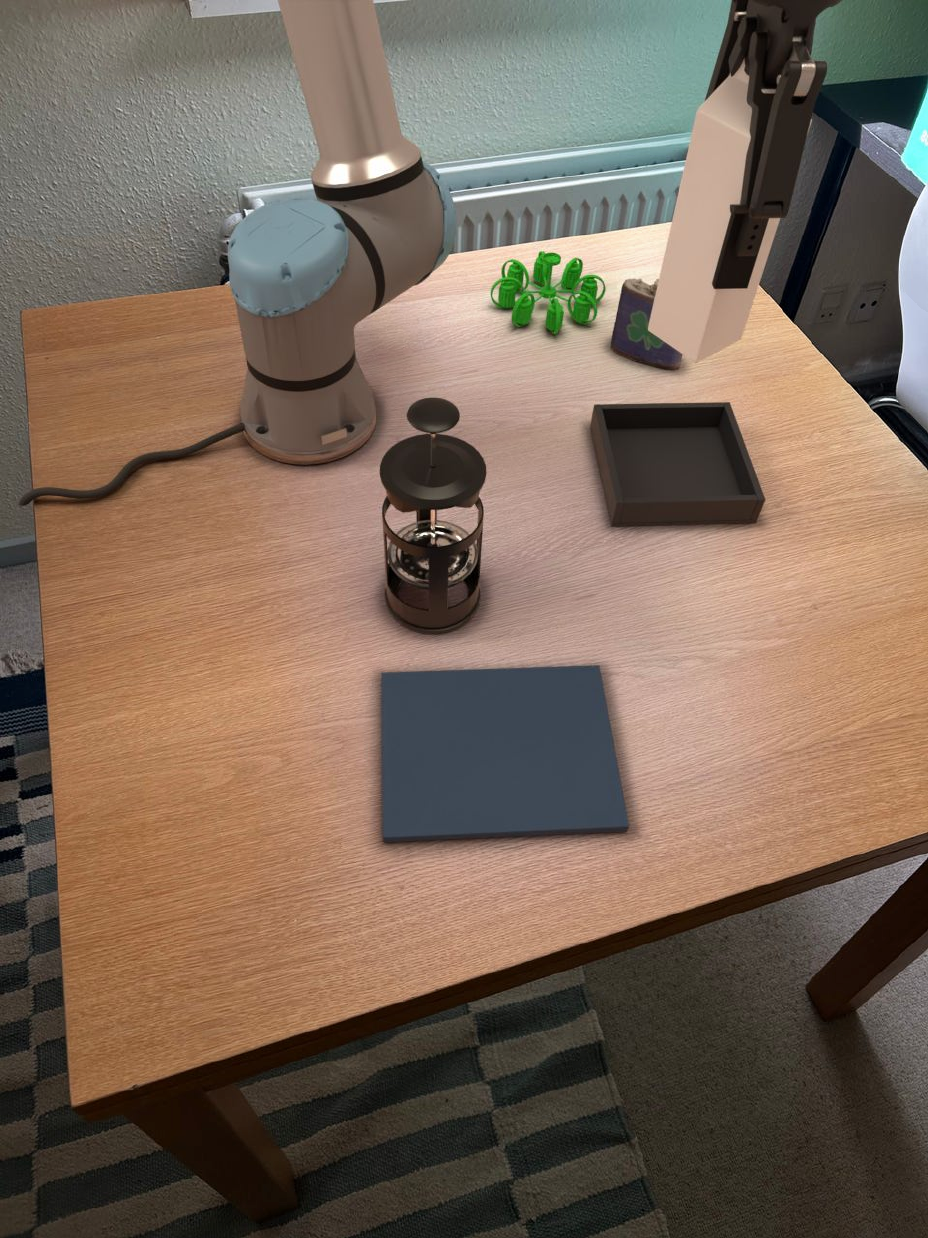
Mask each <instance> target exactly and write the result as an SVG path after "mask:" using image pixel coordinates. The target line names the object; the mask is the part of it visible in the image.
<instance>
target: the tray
mask: <svg viewBox="0 0 928 1238" xmlns="http://www.w3.org/2000/svg"><path fill="white" fill-rule="evenodd" d="M590 419H591V420H590V425H589V429H590V435H591V440H592V444H593V448H594V454H595V457H596V462H597V467H598V471H599V476H600V481H601V486H602V488H603V490H602V491H603V495H604V499H605V505H606V508H607V513H608V517H609V522H610V527H644V526H645V527H647V526H648V527H649V526H651V527H652V526H684V525H691V526H692V525H725V524H729V525H731V524H756V523H757V522H758V520H759V516H760V514H761V512H762V510H763V507H764V505H765V502H766V498H765V495H764V492H763V489H762V485H761V483H760V480H759V478H758V476H757V473H756V470H755V467H754V465H753V462H752V459H751V455H750V454H749V451H748V449H747V446H746V442H745V439H744V437H743V434H742V432H741V429H740V427H739V424H738V421H737V418H736V416H735V412H734V410H733V407H732V404H731V402H730V401H723V402H722V401H721V402H719V401H718V402H717V401H716V402H670V403H669V402H662V403H661V402H659V403H658V402H657V403H656V402H655V403H652V402H651V403H601V404H600V403H594V404H593V409H592V415H591V418H590Z"/></svg>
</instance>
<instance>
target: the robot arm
mask: <svg viewBox="0 0 928 1238" xmlns="http://www.w3.org/2000/svg"><path fill="white" fill-rule="evenodd" d="M842 1H843V0H731V3H730V7H729V14H728V17H727V18H728V19H727V22H726V27H725V30H724V33H723V38H722V41H721V44H720V48H719V51H718V55H717V57H716V61H715V65H714V67H713V71H712V75H711V78H710V82H709V85H708V88H707V91H706V94H705V98H704V101H703V103H704V102H705V101H706V100H707V99H708V97H709V96H710V95H711V94H712V93H713V92H714V91H715V90H716V89H717V88H718V87H719V86H720V85H721V84H722V83H723V82H724V81H725V80H726V78H727V77H728V76H729V75H730V74H731V77H732V76H734V74H735V73H736V72H737V71H738V69H739V68H740V67H741V64H742V62H743V60H744V57H745V68H744V71H745V73H746V74H747V75H748V76H749V83H748V91H747V103H748V105H749V106H751V108H752V115H751V122H750V130H749V131H750V136H751V139H750V143H749V147H748V150H747V154H746V161H745V169H744V177H743V185H742V193H741V200H740V204H730V212H731V216H730V220H729V223H728V227H727V231H726V234H725V238H724V241H723V245H722V249H721V252H720V256H719V259H718V263H717V267H716V270H715V274H714V278H713V281H712V285H713V288H714V289H747V288H748V285H749V282H750V278H751V275H752V272H753V269H754V266H755V262H756V259H757V256H758V253H759V250H760V246H761V243H762V240H763V237H764V234H765V230H766V227H767V224H768V221H769V218H780V219H785V218H787V216H788V214H789V210H790V207H791V202H792V198H793V194H794V190H795V187H796V182H797V178H798V174H799V170H800V167H801V162H802V158H803V154H804V150H805V146H806V141H807V138H808V135H807V134H809V132H808V130H809V131H810V128H809V126H810V127H811V125H810V122H811V119H812V117H813V113H814V110H815V105H816V101H817V99H818V97H819V94H820V92H821V90H822V86H823V84H824V81H825V79H826V76H827V74H828V73H827V72H828V62H827V61H826V60H813V59H812V51H813V46H814V45H813V44H814V35H815V29H816V28H815V27H816V23H817V18H818V16H819V15H820V14H821V13H823V12H824V11H825V10H827V9H828V8H833V7H836V6H837V5H838V4H840V3H841V2H842ZM277 2H278V6H279V10H280V13H281V17H282V21H283V24H284V29H285V31H286V35H287V39H288V42H289V46H290V50H291V54H292V58H293V61H294V64H295V69H296V72H297V76H298V79H299V83H300V87H301V90H302V94H303V98H304V102H305V105H306V109H307V112H308V113H307V114H308V116H309V119H310V120H309V121H310V123H311V127H312V131H313V136H314V138H315V142H316V146H317V149H318V153H319V156H318V160H317V161H316V164H315V165H314V168H313V169H312V171H311V173H310V178H311V184H312V187H313V190H314V193H315V197H316V199H312V198H305V197H292V198H289V199H288V200H287V201H286V202H281V201H280V200H275V201H272V202H269V203H266V204H264V205H262V206H260V207H257V208H256V209H254V210H252V211H251V212H249V213H248V214H247V215H246V216H244V218H242V220H240V222H239V223H238V224H237V225H236V226H235V228H234V229H233V231H232V233H231V234H230V238H229V241H228V245H227V261H228V269H229V271H228V279H229V288H230V292H231V293H232V296H233V298H234V302H235V308H236V315H237V319H238V326H239V330H240V335H241V340H242V344H243V350H244V355H245V361H246V367H247V370H246V374H245V380H244V385H243V389H242V395H241V400H240V406H239V418H240V423H237V424H236V425H234V426H231V427H229V428H227V429H226V428H225V429H224V430H222V431H220V432H217V433H214V434H212V435H210V436H207V437H206V438H204V439H202V440H200V441H198V442H196V443H194V444H192V445H191V444H190V445H189V446H186V447H183V448H179V449H173V450H162V451H154V452H148V453H144V454H141V455H139V456H137V457H135V458H133V459H131V460H130V461H129V462H127V463H126V464H125V465H124V466H123V467H122V468H121V470H120V471H119V472H118V473H117V475H116V476H115V477H114V478H113V479H112V480H111V481H110V482H109V483H107V484H105V485H103V486H101V487H98V488H95V489H89V490H87V489H86V490H85V489H84V490H83V489H82V490H81V489H80V490H79V489H71V488H70V489H69V488H62V487H51V486H45V487H44V486H43V487H37V488H34V489H31V490H29V491H28V492H26V493H25V494H24V495H23V496H21V498H20V499H19V502H18V506H20V507H24V506H28V505H29V504H30V503H31V502H32V501H34V500H35V499H37V498H40V497H44V496H47V497H49V496H51V497H60V498H68V499H77V500H79V499H80V500H87V499H89V500H90V499H97V498H102V497H104V496H106V495H109V494H110V493H112V492H114V491H115V490H116V489H118V488H119V487H120V486H121V485H122V484H123V483H124V482H125V480H127V478H128V477H129V476H130V474H131V473H132V472H133V471H134V470H135V469H136V468H138V467H139V466H141V465H144V464H146V463H149V462H153V461H159V460H171V459H178V458H184V457H187V456H191V455H193V454H196V453H197V452H200V451H202V450H204V449H206V448H208V447H210V446H212V445H214V444H216V443H219V442H221V441H223V440H225V439H227V438H231V437H233V436H235V435H237V434H240V433H242V432H243V435H244V437H245V439H246V441H247V442H248V444H249V445H250V446H251V447H252V448H253V449H254V450H256V451H257V452H258V453H260V454H261V455H263V456H265V457H267V458H269V459H271V460H274V461H277V462H281V463H285V464H290V465H291V464H292V465H300V466H301V465H302V466H305V465H308V466H309V465H319V464H324V463H329V462H332V461H333V462H334V461H336V460H340V459H342V458H345V457H346V456H348V455H351V454H352V453H354V452H356V451H357V450H358V449H360V448H361V447H362V446H363V445H364V444H365V443H366V442H367V441H368V440H369V439H370V437H371V436H372V434H373V432H374V430H375V427H376V424H377V406H376V399H375V396H374V393H373V391H372V389H371V387H370V385H369V383H368V381H367V378H366V377H365V375H364V372H363V370H362V368H361V366H360V364H359V362H358V359H357V357H356V341H355V328H356V325H357V324H358V323H360V322H361V321H362V320H365V319H366V318H367V317H368V316H370V315H371V314H373V313H375V312H377V311H378V310H380V309H381V308H383V307H385V306H386V305H387V304H388V303H390V302H391V301H393V300H394V299H396V298H398V297H400V296H401V295H402V294H404V293H406V292H407V291H408V290H410V289H411V288H412V287H414V286H418V285H420V284H421V283H423V282H424V281H426V280H427V279H428V278H429V277H430V276H431V275H432V273H434V272H435V271H436V270H437V269H439V268H440V267H441V266H442V265H443V264H444V263H445V262H446V260H447V259H448V257H449V255H451V252H452V249H453V247H454V245H455V240H456V235H457V213H456V206H455V201H454V198H453V196H452V193H451V191H450V188H449V187H448V184H447V183H446V182H442V181H441V180H440V177H441V175H440V173H439V171H438V170H437V169H436V168H435V167H433V166H432V165H431V164H430V163H428V162H426V161H424V160H423V156H422V151H421V149H420V148H419V146H417V145H416V144H415V143H413V142H412V141H410V140H409V139H407V138H406V137H405V136H404V135H403V134H402V128H401V124H400V120H399V115H398V109H397V106H396V100H395V96H394V91H393V87H392V82H391V77H390V73H389V68H388V63H387V59H386V53H385V49H384V45H383V40H382V39H383V38H382V34H381V30H380V26H379V21H378V17H377V12H376V6H375V2H374V0H277ZM761 89H776V91H775V93H763V92H762V91H761ZM811 123H812V122H811Z"/></svg>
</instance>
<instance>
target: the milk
mask: <svg viewBox="0 0 928 1238" xmlns="http://www.w3.org/2000/svg"><path fill="white" fill-rule="evenodd" d="M744 68H745V57H744V60H743V62H742V64H741V67H740V68H739V69H738V71H737V72H736V73H735V74H734V76H732V77H731V74H730V75H729V76H728V77H727V78H726V80H725V81H724V82H723V83H722V84H721V85H720V86H719V87H718V88H717V89H716V90H715V91H714V92H713V93H712V94H711V95H710V96H709V97H708V99H707V100H706V101H705V100H704V101H705V102H704V101H703V102H702V104H701V105H700V106H699V107H698V108H697V110H696V114H695V117H694V123H693V127H692V131H691V136H690V139H689V145H688V149H687V153H686V158H685V163H684V166H683V170H682V171H683V172H682V175H681V180H680V185H679V190H678V193H677V198H676V202H675V207H674V210H673V211H674V212H673V216H672V218H671V219H672V220H671V223H670V228H669V233H668V237H667V241H666V246H665V250H664V256H663V259H662V264H661V269H660V273H659V276H658V277H659V278H658V279H659V281H658V286H657V290H656V295H655V299H654V303H653V308H652V312H651V317H650V321H649V326H648V331H650V332H651V333H653V334H654V335H655V336H657V337H658V338H660V339H661V340H663V341H664V342H666V343H667V344H668V345H670V346H671V347H673V348H674V349H676V350H677V351H679V352H680V353H681V354H683V356H684V357H685V358H687V359H688V360H690V361H691V362H693V363H694V364H698V363H700V362H701V361H704V360H705V359H707V358H709V357H711V356H713V355H715V354H717V353H719V352H720V351H722V350H724V349H726V348H728V347H731V345H734V344H735V343H737V342H739V341H741V340H742V338H743V335H744V332H745V330H746V329H745V328H746V326H747V324H748V323H747V322H748V320H749V317H750V313H751V310H752V308H753V304H754V301H755V299H756V295H757V292H758V289H759V286H760V282H761V280H762V276H763V274H764V270H765V267H766V264H767V261H768V258H769V256H770V252H771V249H772V246H773V242H774V240H775V237H776V233H777V231H778V227H779V225H780V221H781V218H769V221H768V224H767V227H766V230H765V234H764V237H763V240H762V243H761V246H760V250H759V253H758V256H757V259H756V262H755V266H754V269H753V272H752V275H751V278H750V282H749V285H748V288H747V289H714V288H713V285H712V281H713V278H714V274H715V270H716V267H717V263H718V259H719V256H720V252H721V249H722V245H723V241H724V238H725V234H726V231H727V227H728V223H729V220H730V216H731V212H730V204H740V200H741V193H742V185H743V177H744V169H745V161H746V154H747V150H748V147H749V143H750V139H751V136H750V131H749V130H750V122H751V115H752V108H751V106H749V105H748V103H747V91H748V83H749V76H748V75H747V74H746V73H745V71H744ZM761 91H762V92H763V93H775V91H776V89H761ZM812 122H813V119H812V118H811V122H810V126H809V130H808V134H809V132H810V128H811V126H812ZM808 134H807V136H808Z"/></svg>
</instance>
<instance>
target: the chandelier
mask: <svg viewBox="0 0 928 1238" xmlns="http://www.w3.org/2000/svg"><path fill="white" fill-rule="evenodd" d="M537 255H538V256H537V257H536V258H535V261H534V264H533V274H532V278H533V280H534V281H535V282H537V283H538V284H539V285H537V284H535V283H533V282H531V281H530V275H529V272H528V270H527V267H526V266H525V265H524V263H522V262H521V261H519V260H518V259H514V258H511V259H508V260H507V261H505V262H504V263H503V264H502V266H501V272H500V274H501V278H499V279H498V280H496V281H495V282H493V283H494V284H493V285H491V289H490V299H491V302H492V303H493V304H494V305H495V306H496V307H498V308H501V309H511V308H513V309H512V311H511V312H512V313H511V323H512V324H513V325H514V326H516V327H519V328H520V327H523V326H524V325H526V324H529V323H530V322H531V320H532V314H533V311H534V309H535V303H537V302H538V301H539V300H541V299H542V298H543V299H547V300H549V303H550V304H549V305H548V308H547V309H546V314H545V315H546V316H545V323H544V324H545V328H547V330H549V331H550V332H551V334H553V335H556V334H558V333H559V331H560V330H561V328H562V327H563V323H564V322H563V321H564V314H565V313H564V307H563V305H562V304H561V302H559V299H561V300H563V301H565V302H567V303H566V304H567V310H568V314H569V315H570V316H571V318H572V319H573V320H574V321H575V322H577V323H579V324H581V325H589V324H591V323H592V322H593V321H595V319H596V318H597V316H598V307H597V306H598V305H597V303H599V302H600V301H601V300H602V299H603V297H604V295H605V293H606V284H605V281H604V280H603V278H602V277H601V276H599V275H596V274H586V275H583V276H582V273H583V268H584V263H583V260H582V258H579V257H573V258H571V259H570V260H569V262H567V263H566V265H565V267H564V269H563V272H562V275H561V279H560V281H559V282H558V283H557V284H555V285H554V286H552V285H551V283H552V277H553V276H552V274H553V267H556V266H558V265H560V264H561V262H562V256H561V254H558V253H556V252H545V251H544V250H540V251H539V252H538V254H537ZM509 263H511V264H510V265H509V266H508V270H507V273H506V266H507V264H509ZM505 273H506V274H505ZM524 277H525V284H524ZM596 279H597V280H596ZM598 281H599V282H601V284H602V291H601V293H600V295H599V296H598V289H599V288H598ZM581 282H582V283H581ZM580 283H581V285H580V290H576V289H577V287H578V286H579V284H580ZM499 284H500V286H499V287H498V297H497V301H496V300H495V299H494V297H493V293H494V290H495V289H496V287H497V286H498V285H499ZM523 285H524V287H523ZM529 285H531V286H533V287H535V288H538V289H539V290H527V291H526V289H527V288H528V286H529ZM558 286H561V289H559V290H558V289H557V290H556V288H557V287H558ZM517 293H520V295H519V297H518V298H516V295H517ZM558 293H572V294H570V295H569V297H568V299H567V298H564V297H563V296H561V295H559V294H558ZM534 294H539V296H538V297H537V298H536V299H535V296H534ZM576 295H578V296H576ZM597 296H598V297H597ZM529 297H530V298H529ZM572 299H574V303H573V307H572ZM572 308H573V309H572ZM592 308H593V316H592V319H591V320H589V319H590V316H591V309H592Z"/></svg>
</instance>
